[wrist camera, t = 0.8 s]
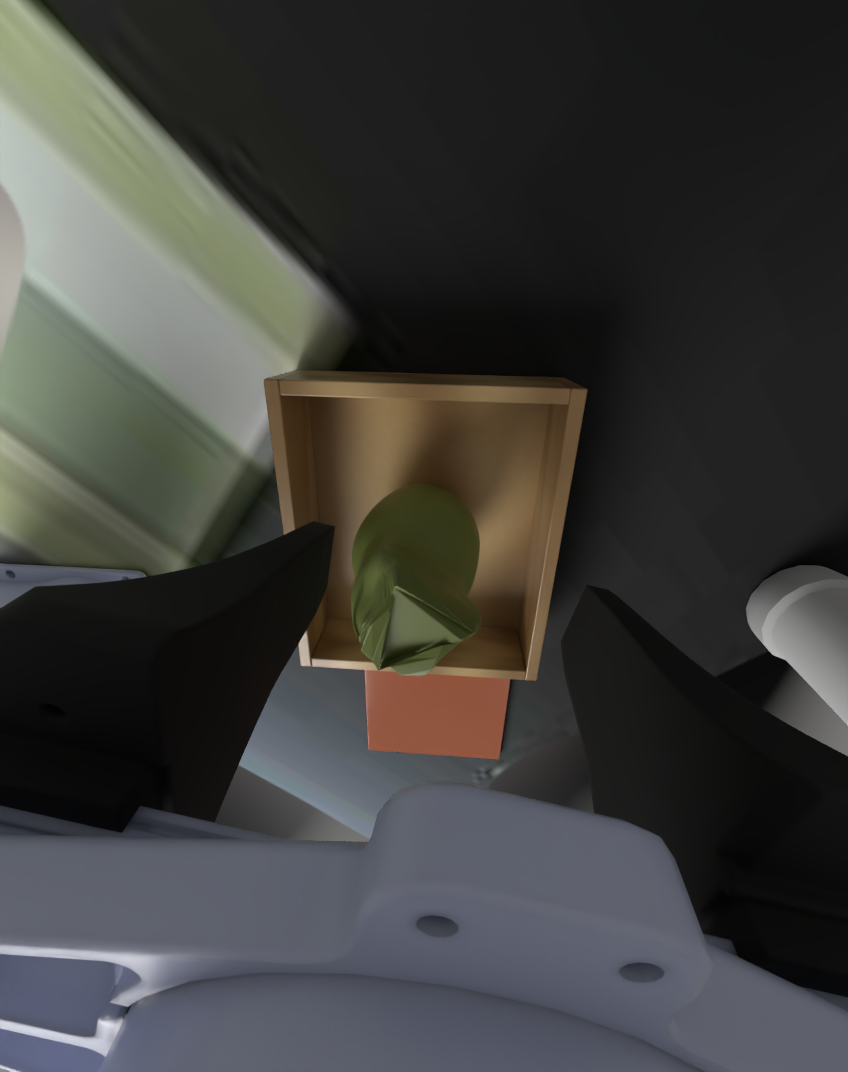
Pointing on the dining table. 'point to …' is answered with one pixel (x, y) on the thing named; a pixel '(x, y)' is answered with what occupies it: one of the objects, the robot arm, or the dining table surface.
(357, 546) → the pear
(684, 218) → the dining table surface
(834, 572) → the bottle
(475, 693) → the coaster
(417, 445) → the wooden shallow box
